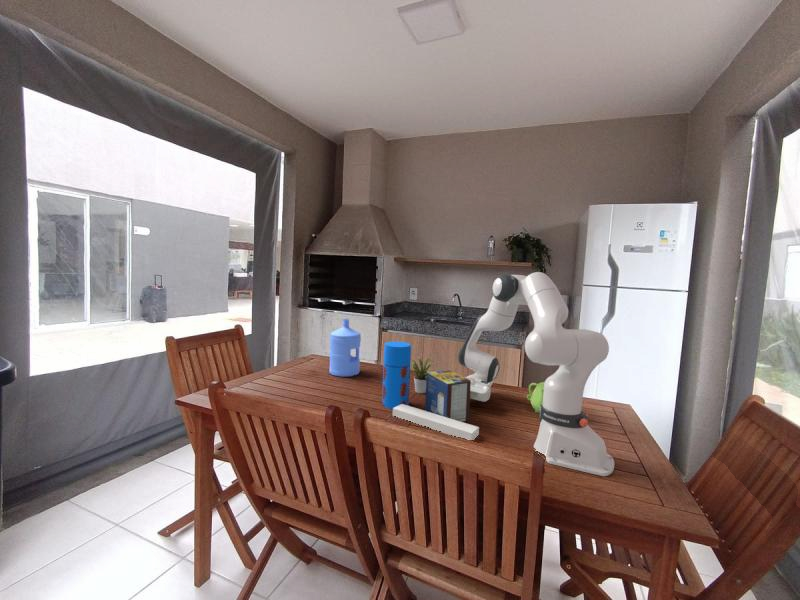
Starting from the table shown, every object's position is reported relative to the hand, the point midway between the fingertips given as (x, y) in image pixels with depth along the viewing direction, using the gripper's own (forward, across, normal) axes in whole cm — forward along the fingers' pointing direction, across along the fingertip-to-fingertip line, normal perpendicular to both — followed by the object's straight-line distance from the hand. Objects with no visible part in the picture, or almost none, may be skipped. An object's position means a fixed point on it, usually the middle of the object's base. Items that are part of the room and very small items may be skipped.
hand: (456, 395), depth 145 cm
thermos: (+11, -22, +7) cm, 25 cm away
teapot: (-24, +29, +7) cm, 38 cm away
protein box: (+7, 0, +6) cm, 9 cm away
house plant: (-11, -22, +7) cm, 26 cm away
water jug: (-6, -68, +7) cm, 69 cm away
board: (+18, 0, +6) cm, 19 cm away
